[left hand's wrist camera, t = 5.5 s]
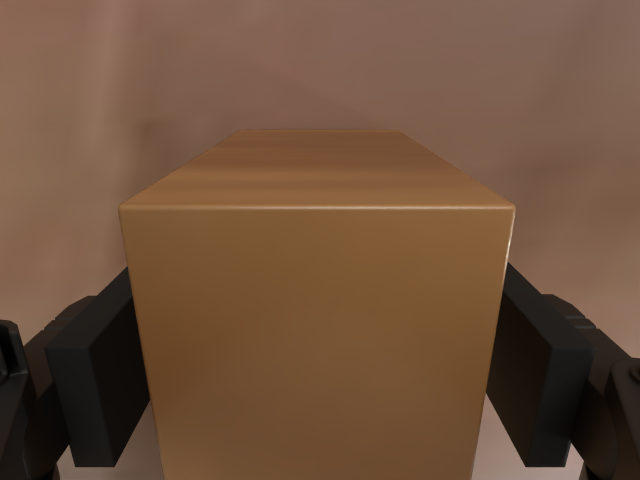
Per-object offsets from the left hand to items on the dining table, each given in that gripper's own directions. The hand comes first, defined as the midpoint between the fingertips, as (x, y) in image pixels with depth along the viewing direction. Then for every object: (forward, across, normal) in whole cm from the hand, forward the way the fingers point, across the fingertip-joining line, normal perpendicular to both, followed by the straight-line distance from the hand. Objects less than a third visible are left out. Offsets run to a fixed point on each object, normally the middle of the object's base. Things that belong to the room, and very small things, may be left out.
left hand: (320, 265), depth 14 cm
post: (+1, 0, -36) cm, 36 cm away
